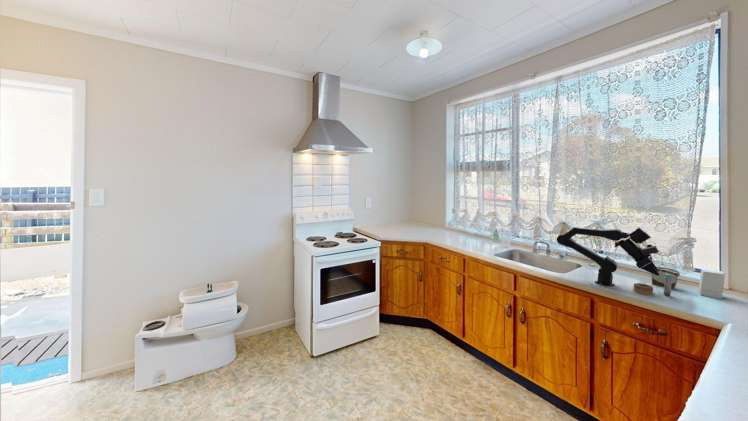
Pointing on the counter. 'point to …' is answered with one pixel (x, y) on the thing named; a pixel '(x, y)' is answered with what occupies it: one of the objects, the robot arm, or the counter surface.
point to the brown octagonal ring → (643, 288)
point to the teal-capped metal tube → (668, 284)
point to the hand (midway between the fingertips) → (658, 273)
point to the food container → (661, 278)
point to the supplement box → (711, 283)
